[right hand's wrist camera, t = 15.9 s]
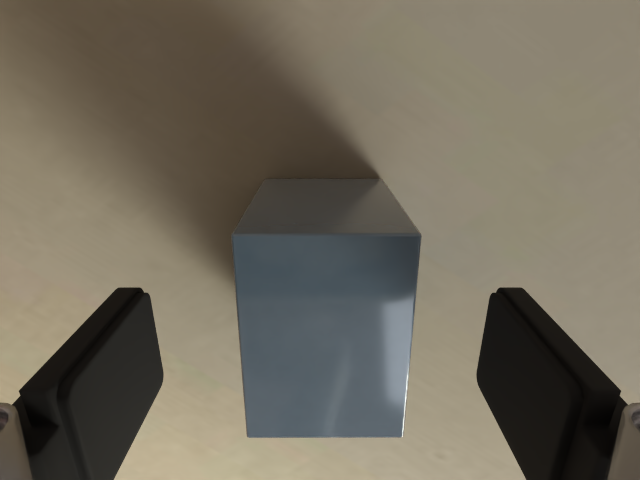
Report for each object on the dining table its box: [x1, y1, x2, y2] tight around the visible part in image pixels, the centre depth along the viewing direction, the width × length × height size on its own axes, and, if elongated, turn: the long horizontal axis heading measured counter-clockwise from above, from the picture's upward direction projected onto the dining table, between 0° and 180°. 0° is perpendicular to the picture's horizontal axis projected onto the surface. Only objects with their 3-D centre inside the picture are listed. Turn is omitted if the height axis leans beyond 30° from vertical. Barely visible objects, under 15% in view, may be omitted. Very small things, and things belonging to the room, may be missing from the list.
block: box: [231, 179, 421, 438], centre depth 15 cm, size 5×7×7 cm
